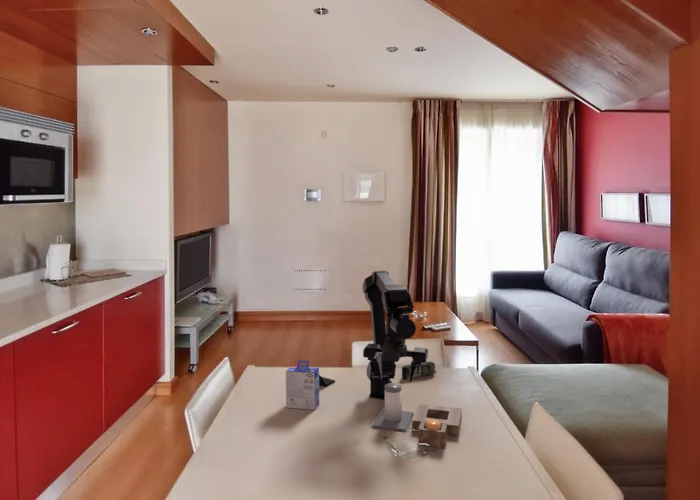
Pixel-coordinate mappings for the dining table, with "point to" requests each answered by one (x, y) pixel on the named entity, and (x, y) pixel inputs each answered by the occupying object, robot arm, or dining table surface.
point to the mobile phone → (419, 370)
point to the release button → (433, 425)
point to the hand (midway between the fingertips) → (395, 380)
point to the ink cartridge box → (302, 387)
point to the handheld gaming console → (325, 381)
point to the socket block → (444, 415)
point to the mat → (400, 425)
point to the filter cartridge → (393, 402)
